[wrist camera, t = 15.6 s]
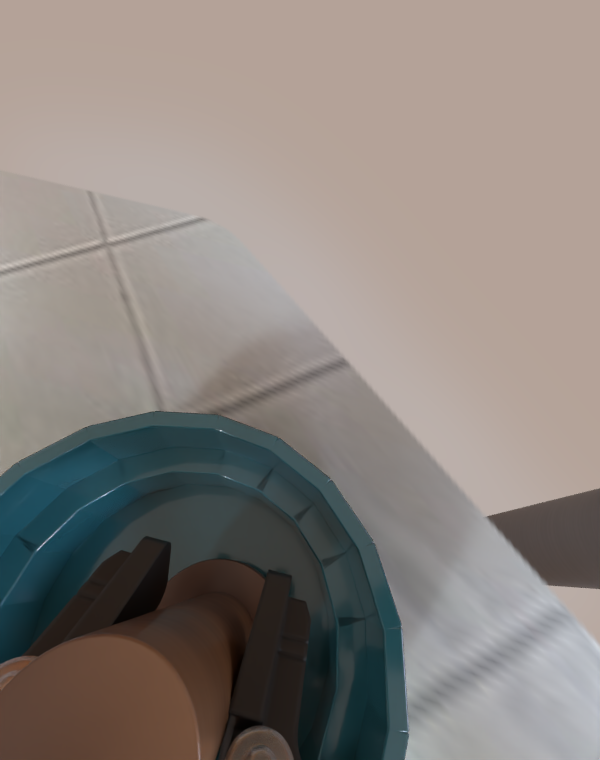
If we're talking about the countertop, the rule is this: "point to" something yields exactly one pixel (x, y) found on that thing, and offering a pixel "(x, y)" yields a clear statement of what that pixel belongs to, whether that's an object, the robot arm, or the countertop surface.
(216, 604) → the brown wooden peg
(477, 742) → the countertop surface
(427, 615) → the countertop surface
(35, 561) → the bowl
